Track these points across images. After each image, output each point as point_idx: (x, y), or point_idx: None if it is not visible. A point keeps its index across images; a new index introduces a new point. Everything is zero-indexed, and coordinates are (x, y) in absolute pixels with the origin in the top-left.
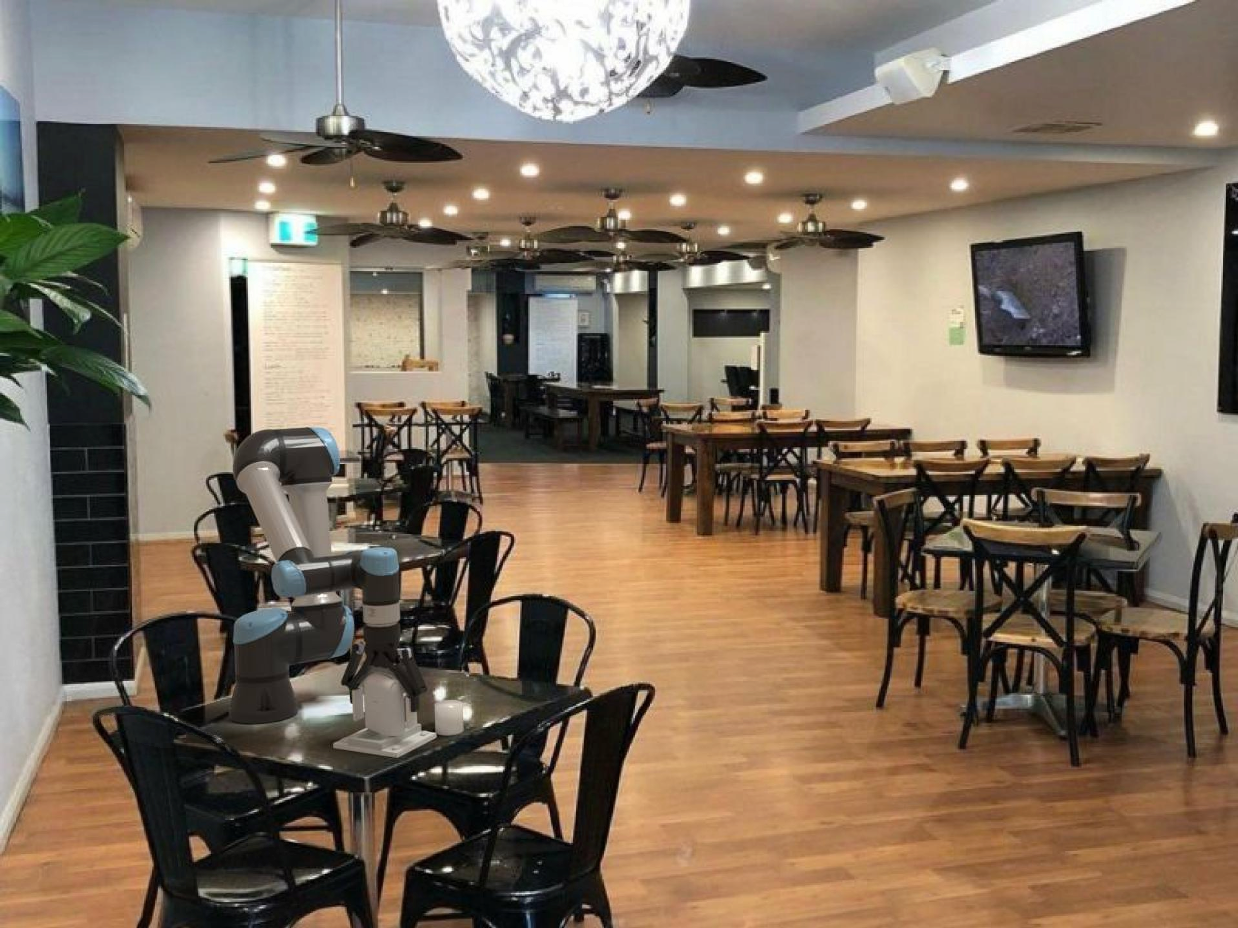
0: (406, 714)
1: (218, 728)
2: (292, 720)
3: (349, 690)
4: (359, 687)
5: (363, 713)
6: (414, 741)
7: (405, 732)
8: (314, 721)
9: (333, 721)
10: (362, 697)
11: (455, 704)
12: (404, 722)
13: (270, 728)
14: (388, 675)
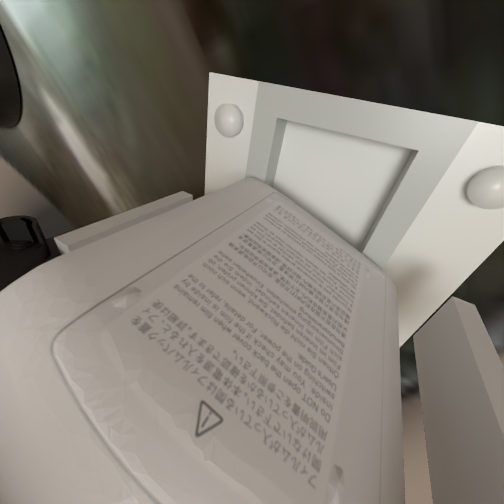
0: (423, 397)
1: (13, 161)
2: (28, 70)
3: None
4: (57, 243)
5: (182, 201)
6: (439, 274)
7: (392, 252)
8: (58, 59)
9: (84, 37)
10: (123, 227)
11: None
12: (396, 311)
13: (49, 145)
14: None
